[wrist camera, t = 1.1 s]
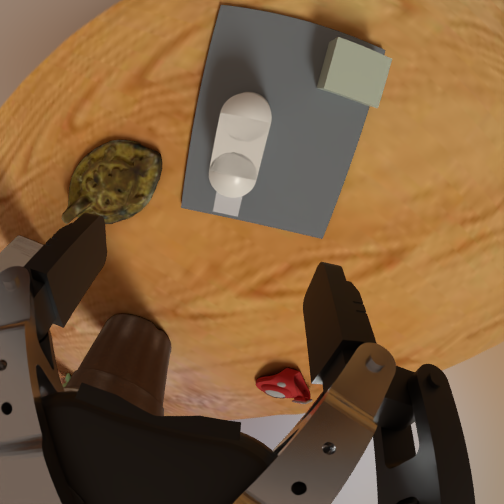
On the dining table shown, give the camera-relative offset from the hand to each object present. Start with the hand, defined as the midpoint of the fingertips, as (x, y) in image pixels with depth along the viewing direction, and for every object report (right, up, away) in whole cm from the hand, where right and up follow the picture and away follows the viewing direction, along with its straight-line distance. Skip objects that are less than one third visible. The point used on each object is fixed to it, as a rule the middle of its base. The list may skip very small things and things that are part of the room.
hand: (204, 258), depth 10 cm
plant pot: (-18, -14, +35) cm, 41 cm away
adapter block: (+11, +17, +12) cm, 23 cm away
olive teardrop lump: (-15, +8, +20) cm, 26 cm away
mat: (+4, +13, +15) cm, 20 cm away
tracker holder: (+8, -24, +40) cm, 48 cm away
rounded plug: (+1, +10, +16) cm, 19 cm away
